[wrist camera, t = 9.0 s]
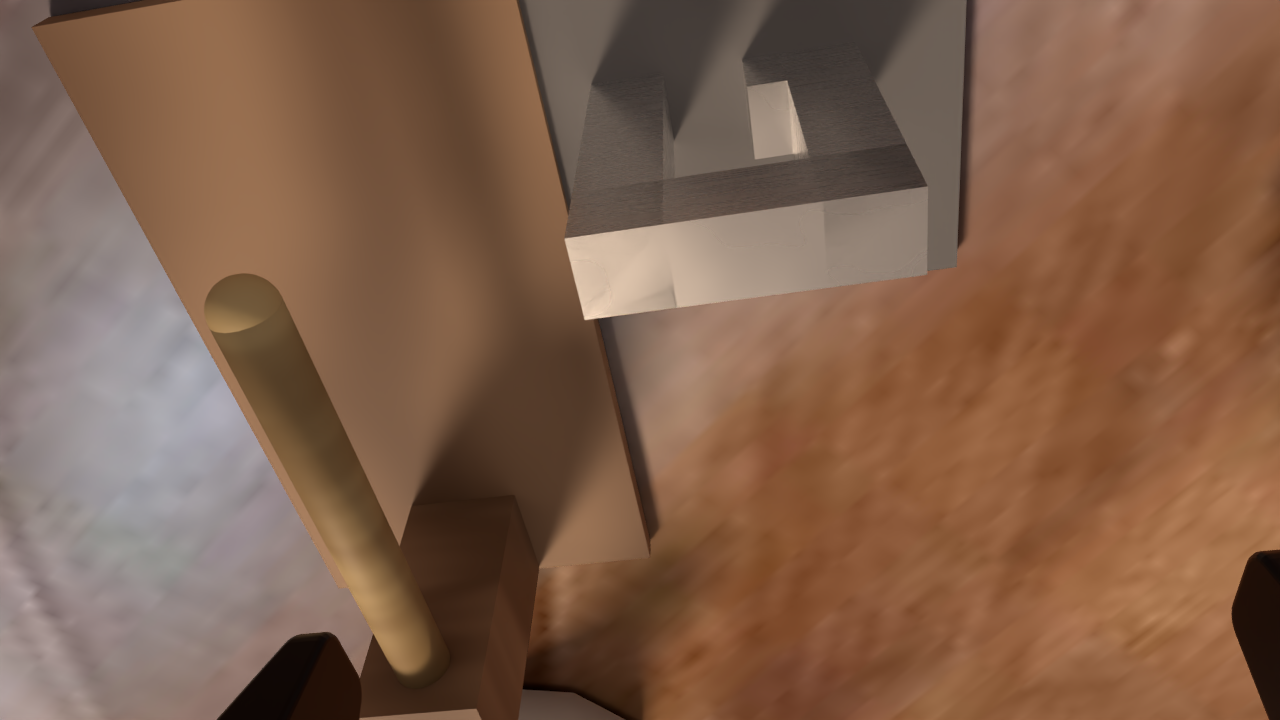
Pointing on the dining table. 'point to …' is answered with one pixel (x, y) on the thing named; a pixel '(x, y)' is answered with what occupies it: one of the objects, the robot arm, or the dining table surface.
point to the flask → (560, 707)
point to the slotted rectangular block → (746, 193)
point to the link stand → (379, 302)
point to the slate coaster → (714, 82)
